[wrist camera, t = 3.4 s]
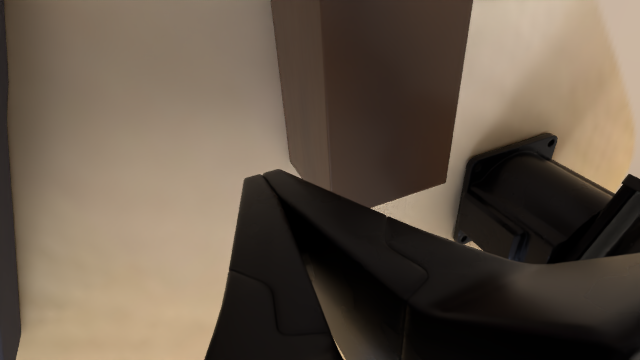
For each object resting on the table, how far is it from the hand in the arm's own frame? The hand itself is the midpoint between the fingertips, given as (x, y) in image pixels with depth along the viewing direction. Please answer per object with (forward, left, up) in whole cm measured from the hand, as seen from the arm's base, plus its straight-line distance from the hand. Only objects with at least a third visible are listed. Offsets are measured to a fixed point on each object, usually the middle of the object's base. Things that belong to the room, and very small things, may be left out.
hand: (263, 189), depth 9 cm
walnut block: (-5, 0, -7) cm, 9 cm away
